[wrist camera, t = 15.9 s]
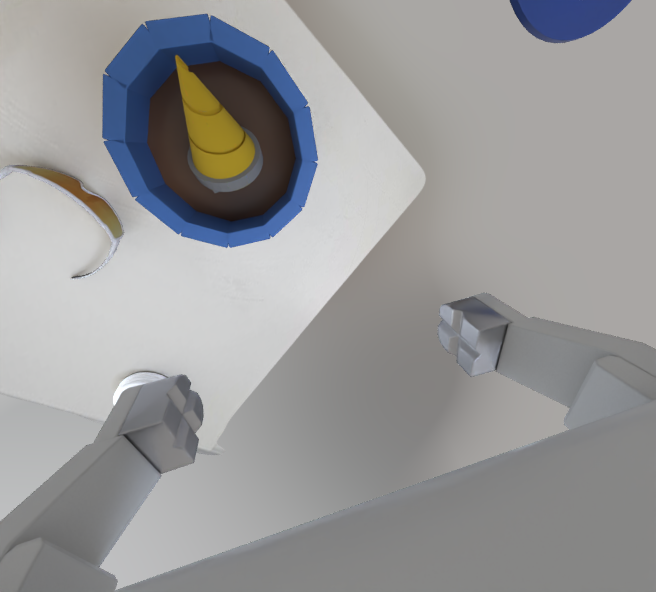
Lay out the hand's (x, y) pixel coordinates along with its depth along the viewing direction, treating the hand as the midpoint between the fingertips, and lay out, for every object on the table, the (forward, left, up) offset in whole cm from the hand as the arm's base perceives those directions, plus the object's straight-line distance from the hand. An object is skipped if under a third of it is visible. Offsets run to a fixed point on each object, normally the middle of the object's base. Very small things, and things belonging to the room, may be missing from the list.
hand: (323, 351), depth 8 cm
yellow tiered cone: (+3, -7, -20) cm, 21 cm away
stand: (+3, -6, -40) cm, 40 cm away
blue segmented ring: (+3, -6, -20) cm, 21 cm away
